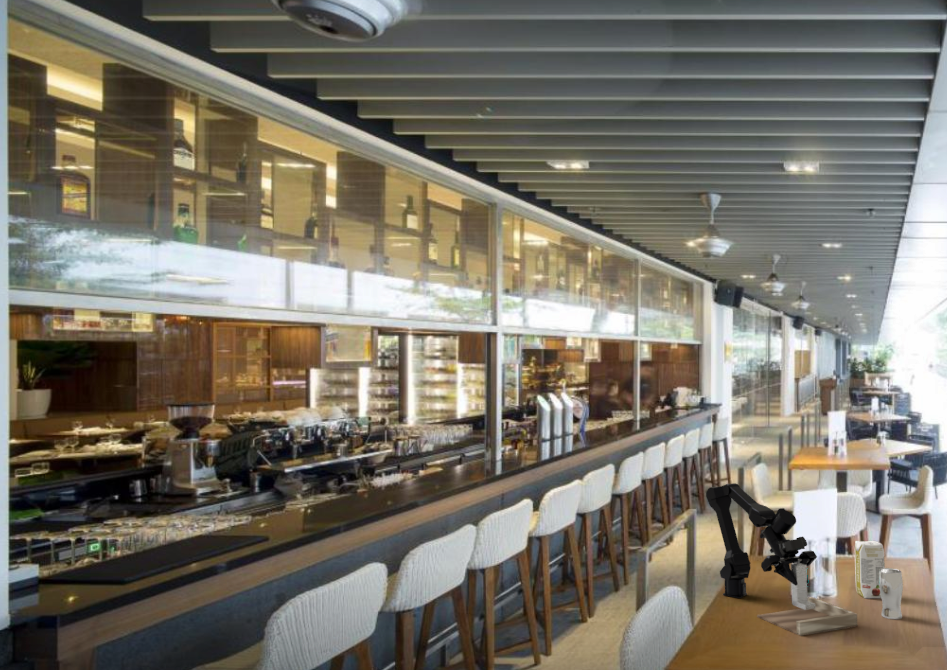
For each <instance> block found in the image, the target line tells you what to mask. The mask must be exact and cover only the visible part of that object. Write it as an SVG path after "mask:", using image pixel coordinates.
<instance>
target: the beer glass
mask: <svg viewBox="0 0 947 670" xmlns="http://www.w3.org/2000/svg"><path fill="white" fill-rule="evenodd" d="M902 575H903V572H902V570H900V569H897V568H892V567H890V568H889V567H885V568H881V569H879V588H880V593H881V598H880V599H881V601H882V602H881V603H882V609H881V614H880V615H881V617H883V618H884V619H888V620H902V619H903V615H902V609H901V604H902V603H901V602H902V598H903V597H902V596H903V588H904V587H903V585H904V584H903V581H904V580H903V576H902Z"/></svg>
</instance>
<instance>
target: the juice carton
mask: <svg viewBox="0 0 947 670" xmlns="http://www.w3.org/2000/svg"><path fill="white" fill-rule="evenodd" d="M885 565H886V564H885V550H884V545H883V544H882V543H881V542H880V541H876V540H868V541H865V540H864V541H863V540H855V542H854V568H855V569H854V572H855V575H854V576H855V590H856V593H857V594H858V595H859V596H860V597H862V598H863V599H882V598H881V593H880V588H879V569H881V568H886V566H885Z"/></svg>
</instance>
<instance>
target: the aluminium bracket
mask: <svg viewBox="0 0 947 670" xmlns="http://www.w3.org/2000/svg"><path fill="white" fill-rule="evenodd" d="M790 569H791V571H792V573H793V575H794V577H795V578H796V580H797V583H798V584H797V585H794V584H793V583H791V605H792V606H794V607H797V608H798V609H801V608H802V609H804V610H809V609H816V607H815V603H812V602H810V601H808V586H807V569H808V566H807V565H806V564H802V563H797V564H793V563H790Z"/></svg>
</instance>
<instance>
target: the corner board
mask: <svg viewBox="0 0 947 670" xmlns="http://www.w3.org/2000/svg"><path fill="white" fill-rule="evenodd" d="M807 601H810V602H812V603H815V607H816V609H809V610H804V609H802V608H795V609H789V610H781V611H776V612H774V611H773V612H770V613H769V612H768V613H763V614H756V617H757V618H758V619H761V620H763V621H766V622H768V623H771V624H773V625H774V626H777V627H779V628H781V629H783V630H787V632H788V631H789V632H790V633H793V634H795V635H798V636H799V635H800V636H799V637H801V636H808V635H812V634H813V635H814V634H820V633H825V632H831V631H839V630H845V629H849V628H850V627H851V628H856V626H857V627H858V613H856V612H854V611H851V610H848V609H846V608H842V607H840V606H837V605H834V604H831V603H829V602H826V601H824V600H821V599H818V598H815V597H813V596H807Z"/></svg>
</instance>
